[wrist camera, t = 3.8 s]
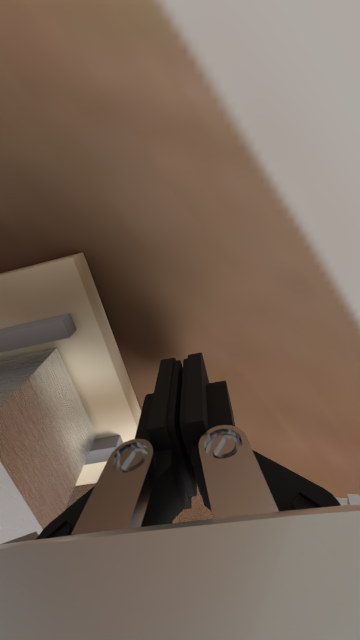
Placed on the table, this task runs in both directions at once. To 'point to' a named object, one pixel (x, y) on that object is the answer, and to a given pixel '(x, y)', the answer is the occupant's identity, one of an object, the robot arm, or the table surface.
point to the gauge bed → (72, 346)
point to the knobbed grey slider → (39, 441)
